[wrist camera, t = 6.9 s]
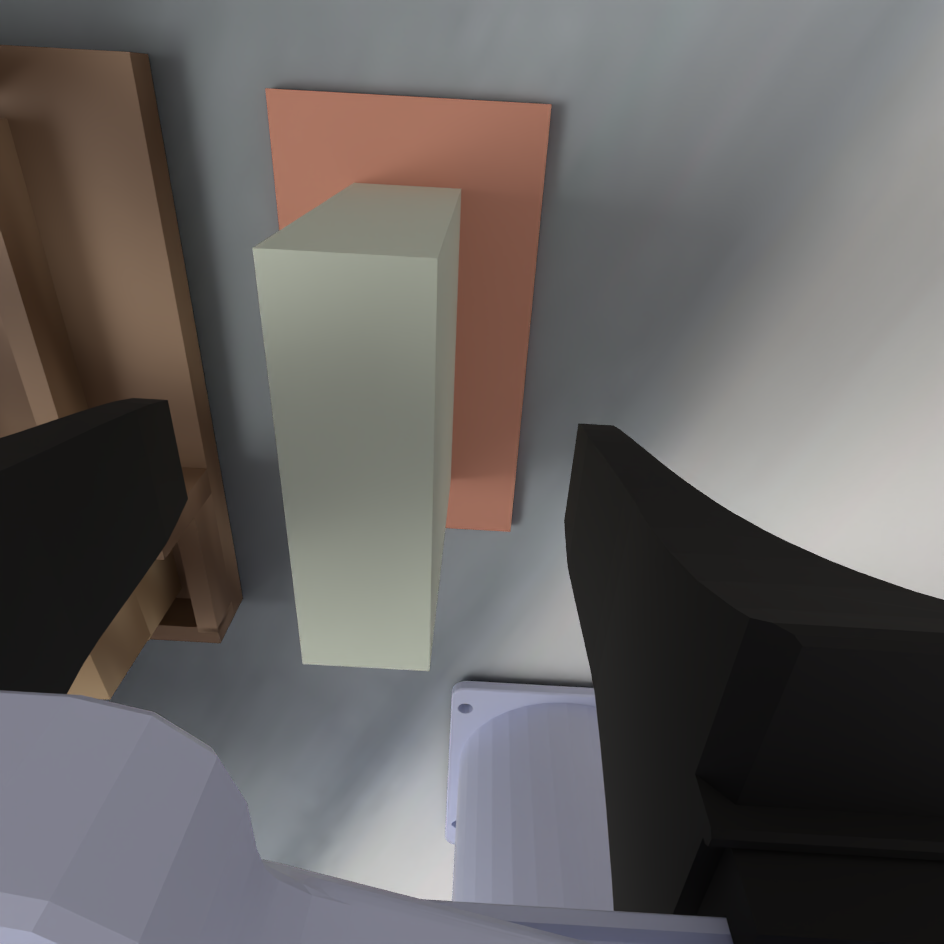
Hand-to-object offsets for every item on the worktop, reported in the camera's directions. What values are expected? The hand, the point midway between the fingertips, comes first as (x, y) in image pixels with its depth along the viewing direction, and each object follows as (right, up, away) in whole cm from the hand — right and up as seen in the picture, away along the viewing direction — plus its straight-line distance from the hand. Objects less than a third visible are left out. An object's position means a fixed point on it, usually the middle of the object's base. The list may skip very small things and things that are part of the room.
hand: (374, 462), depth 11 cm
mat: (0, +3, +5) cm, 6 cm away
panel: (0, +3, +5) cm, 6 cm away
